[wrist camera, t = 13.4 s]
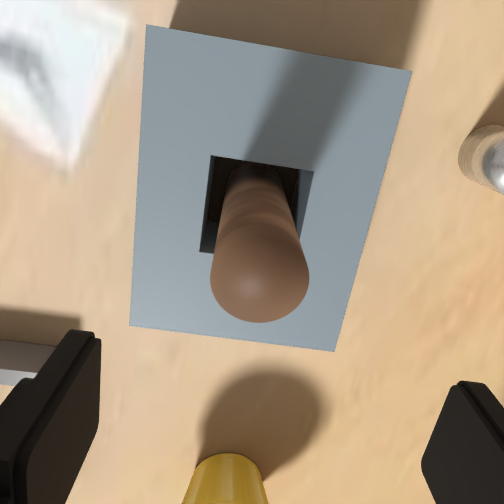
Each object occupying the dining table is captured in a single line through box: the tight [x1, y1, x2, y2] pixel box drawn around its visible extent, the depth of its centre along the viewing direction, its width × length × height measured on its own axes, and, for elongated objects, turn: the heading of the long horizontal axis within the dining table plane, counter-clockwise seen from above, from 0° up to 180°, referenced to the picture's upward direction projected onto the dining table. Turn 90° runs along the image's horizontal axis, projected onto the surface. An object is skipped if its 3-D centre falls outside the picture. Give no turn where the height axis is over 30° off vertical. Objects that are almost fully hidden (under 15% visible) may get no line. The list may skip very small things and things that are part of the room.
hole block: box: [129, 24, 412, 352], centre depth 28 cm, size 14×18×6 cm
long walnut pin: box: [210, 161, 309, 323], centre depth 24 cm, size 4×4×15 cm
